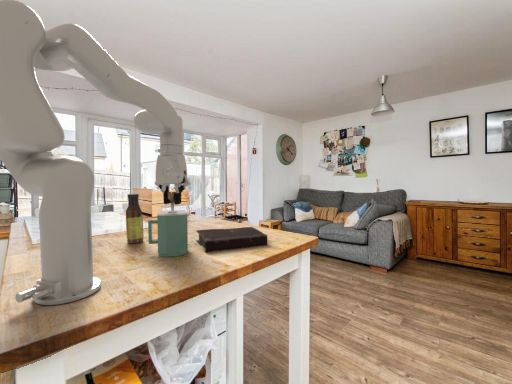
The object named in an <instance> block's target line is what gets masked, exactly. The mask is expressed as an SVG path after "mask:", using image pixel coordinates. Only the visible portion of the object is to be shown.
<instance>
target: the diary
mask: <svg viewBox="0 0 512 384" xmlns="http://www.w3.org/2000/svg"><path fill="white" fill-rule="evenodd" d="M196 233H197V234H198V240H197V239H196V240H195V241H196V243H197V244H198V245H199V246H201V247H203V248H204V253H211V252H219V251H227V250H237V249H245V248H253V247H261V246H262V247H263V246H268V235H267V234H265V233H263V232H262V231H260V229H257V228H256V227H253V226H245V227H236V228H235V227H233V228H208V229H196Z"/></svg>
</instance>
